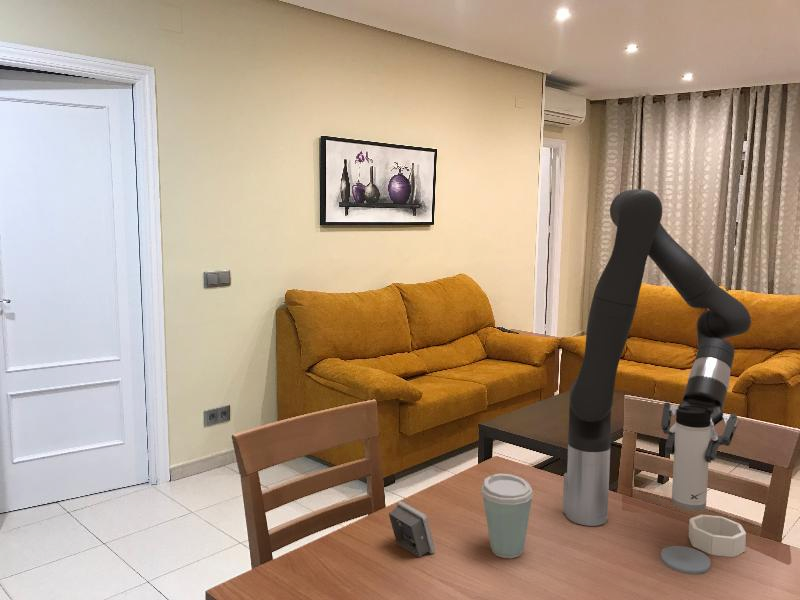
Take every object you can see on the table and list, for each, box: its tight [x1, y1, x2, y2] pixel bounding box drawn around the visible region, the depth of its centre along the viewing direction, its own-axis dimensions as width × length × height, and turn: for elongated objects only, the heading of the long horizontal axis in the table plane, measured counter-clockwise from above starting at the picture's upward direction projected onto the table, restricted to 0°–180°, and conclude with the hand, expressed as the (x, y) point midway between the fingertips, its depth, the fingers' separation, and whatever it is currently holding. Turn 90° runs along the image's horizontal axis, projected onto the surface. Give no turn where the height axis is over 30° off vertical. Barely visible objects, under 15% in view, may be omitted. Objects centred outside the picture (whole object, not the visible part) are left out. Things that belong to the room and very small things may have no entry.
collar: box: [688, 514, 747, 558], centre depth 135 cm, size 10×10×4 cm
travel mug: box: [671, 406, 713, 511], centre depth 126 cm, size 6×7×20 cm
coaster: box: [660, 545, 711, 575], centre depth 128 cm, size 9×9×1 cm
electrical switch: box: [388, 500, 436, 558], centre depth 133 cm, size 9×5×9 cm, turn 38°
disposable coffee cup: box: [480, 473, 534, 559], centre depth 132 cm, size 11×11×15 cm
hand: (689, 456), depth 124 cm, fingers closed on travel mug, 6 cm apart
